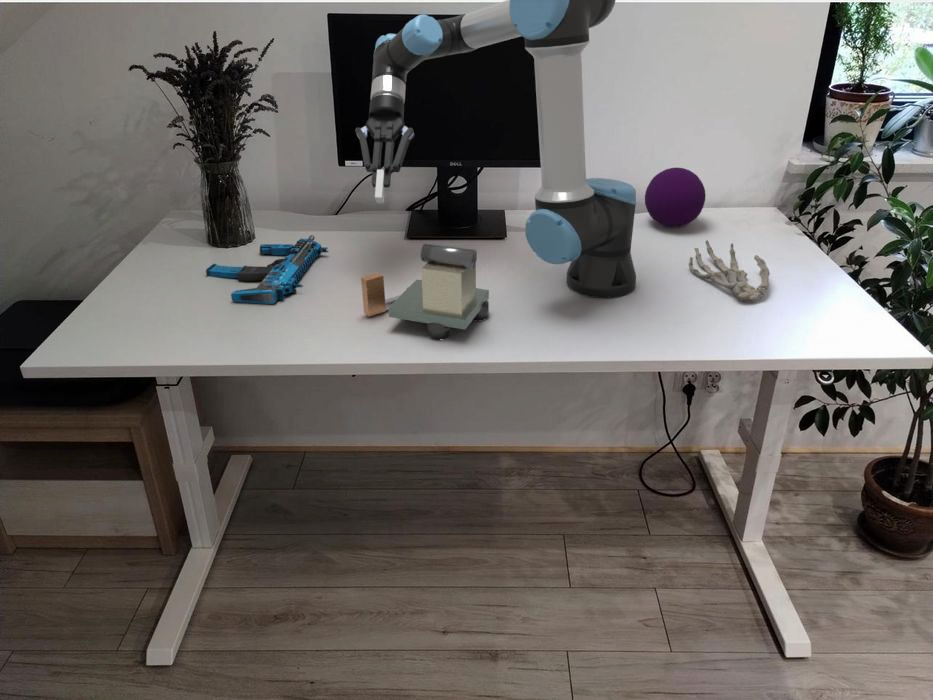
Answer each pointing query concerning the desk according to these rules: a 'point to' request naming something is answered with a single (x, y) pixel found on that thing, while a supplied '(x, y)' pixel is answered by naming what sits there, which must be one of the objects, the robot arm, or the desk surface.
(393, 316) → the footed square platform
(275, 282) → the submachine gun
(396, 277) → the desk surface
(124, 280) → the desk surface
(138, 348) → the desk surface
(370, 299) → the footscrew lever
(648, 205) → the toy ball
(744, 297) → the skeleton model
